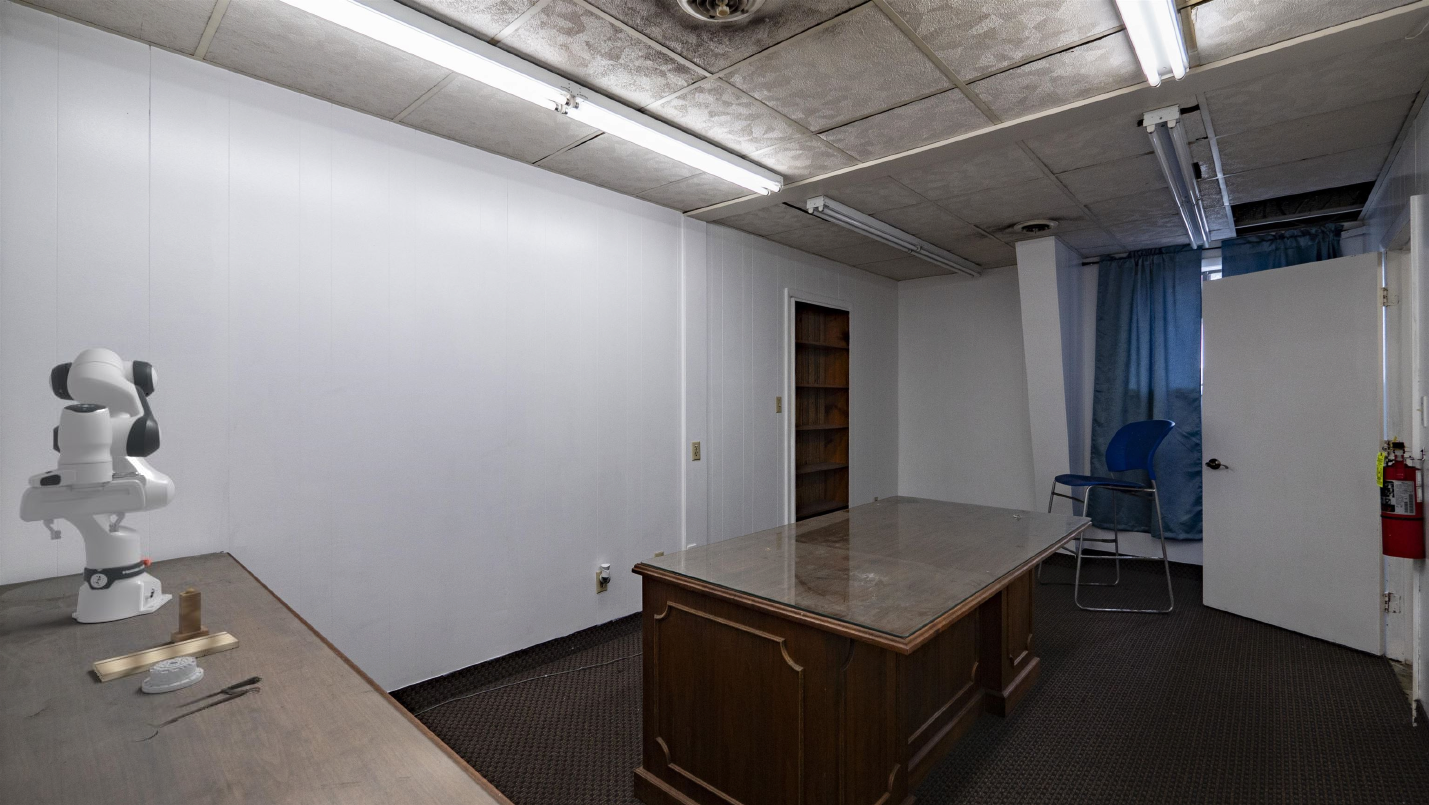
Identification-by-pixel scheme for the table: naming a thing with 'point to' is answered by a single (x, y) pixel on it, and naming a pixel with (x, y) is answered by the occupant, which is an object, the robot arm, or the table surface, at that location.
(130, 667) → the plank
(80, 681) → the table surface
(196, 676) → the mechanical component
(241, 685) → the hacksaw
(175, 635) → the wooden peg post
